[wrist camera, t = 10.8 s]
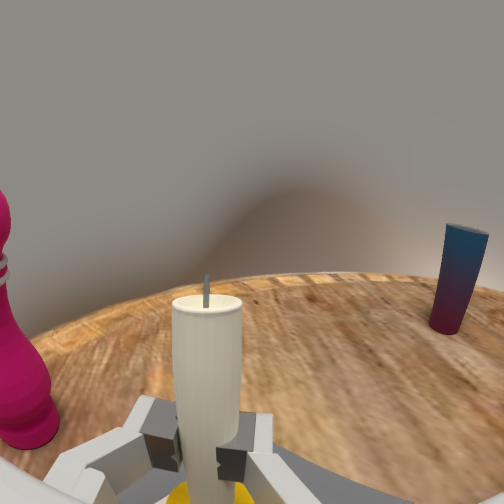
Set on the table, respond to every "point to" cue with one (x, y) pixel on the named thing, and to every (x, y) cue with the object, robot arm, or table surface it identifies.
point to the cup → (457, 276)
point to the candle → (207, 392)
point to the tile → (312, 476)
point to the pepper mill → (21, 371)
